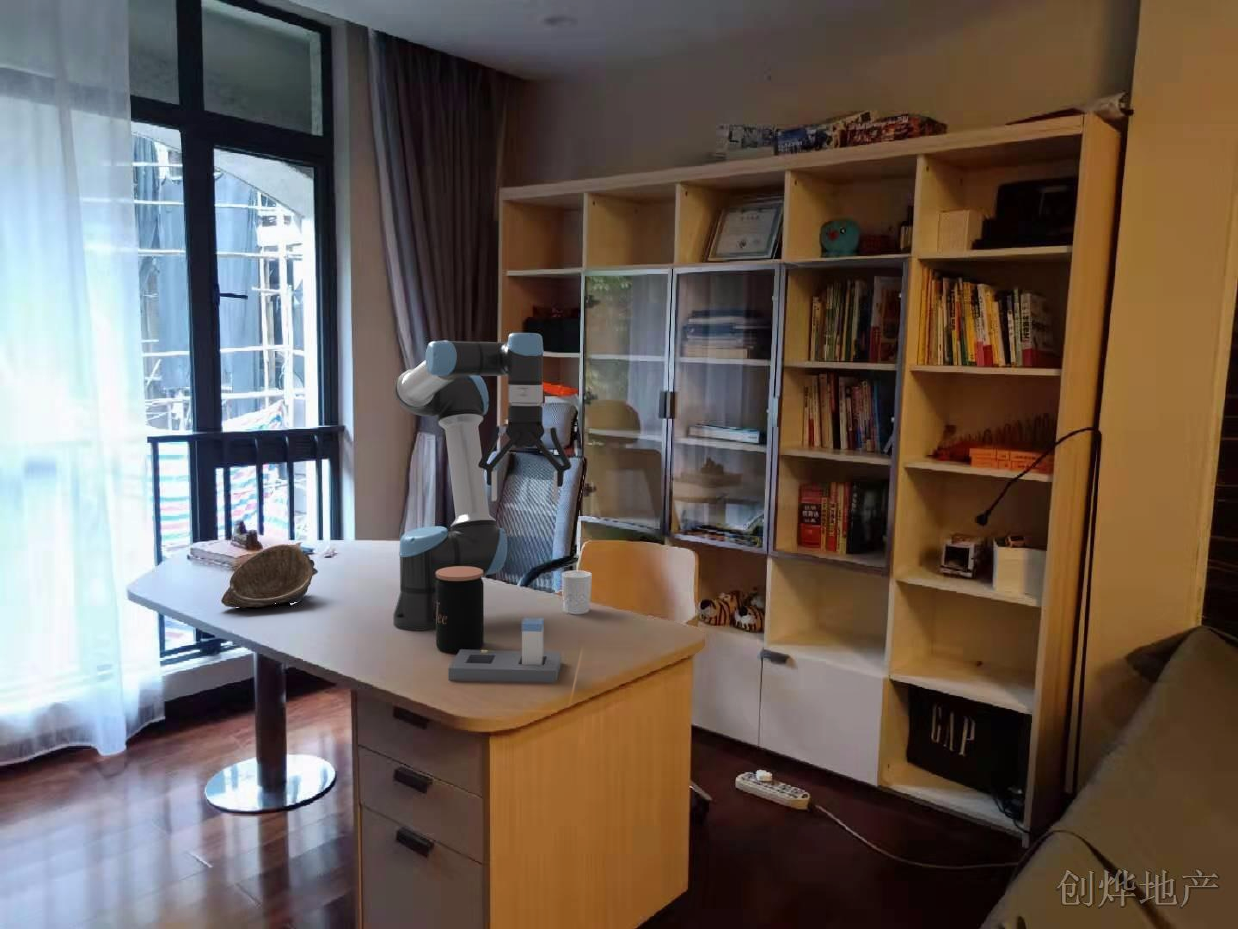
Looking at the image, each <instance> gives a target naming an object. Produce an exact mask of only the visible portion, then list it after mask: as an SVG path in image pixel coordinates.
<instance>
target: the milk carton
mask: <svg viewBox="0 0 1238 929" xmlns="http://www.w3.org/2000/svg"><path fill="white" fill-rule="evenodd" d="M544 620H545V619H544V617H543V618H539V617H535V618H533V617H530V618H529V617H524V618H523V620H522V623H521V651H522V664H524V665H543V651H544V623H545V622H544Z"/></svg>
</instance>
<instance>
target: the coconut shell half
mask: <svg viewBox="0 0 1238 929" xmlns="http://www.w3.org/2000/svg"><path fill="white" fill-rule="evenodd" d="M318 572H319V570H318V569H317V568H315V562H314V560H313V559H311V557H310V556H309V555H308V554H307V553H304V552H303V551H302V550H301V549H300V548H299V547H298V546H295V545H292V544H285V543H284V544H275V545H272V546H269V547H266V548H263V549H262V550H260V551H258V552H257V553H255V554H253V555H252V556H250V557H249V558H248V559H246V560H245V561H243V562H242V563H241V564H240V565H238V567H237V568H236V569H235V570H234V572H233V573H232V575H231V577H230V579H229V587H228V589H226V592H224V594H223V596H222V598H221V604H223V605H224V606H225V607H227V608H229V607H230V608H236V607H241V608H242V609H247V608H246V607H256V608H263V607H268V605H269V606H272V605H273V604H275V603H276V604H277V605H281V604H285V603H287V602H288V603H289V602H290V603H294V602H298V601H299V602H300V601H302V599H303V598H304V596H305V595H306V594H307V592H308V590H309V586H310V585H311V584H312V579H313V577H314V576H315V575H317V574H318ZM299 602H298V603H299ZM241 608H240V609H241Z"/></svg>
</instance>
